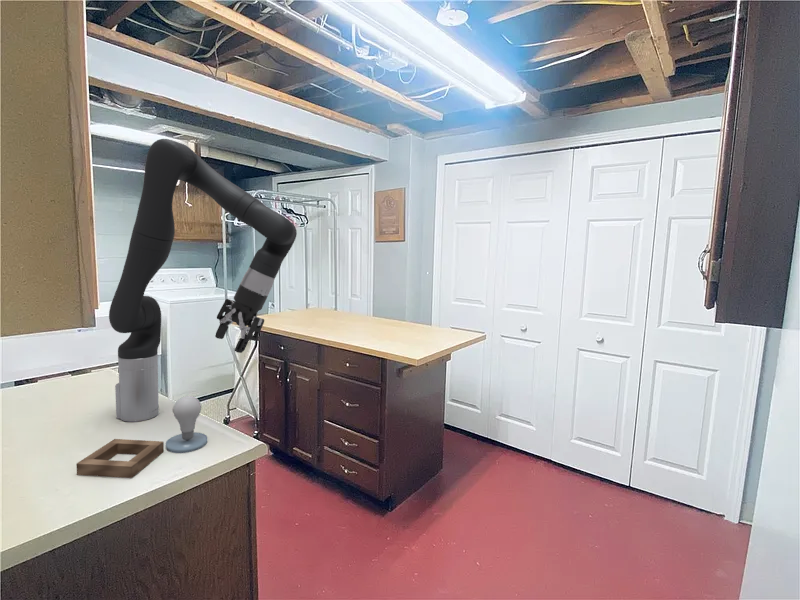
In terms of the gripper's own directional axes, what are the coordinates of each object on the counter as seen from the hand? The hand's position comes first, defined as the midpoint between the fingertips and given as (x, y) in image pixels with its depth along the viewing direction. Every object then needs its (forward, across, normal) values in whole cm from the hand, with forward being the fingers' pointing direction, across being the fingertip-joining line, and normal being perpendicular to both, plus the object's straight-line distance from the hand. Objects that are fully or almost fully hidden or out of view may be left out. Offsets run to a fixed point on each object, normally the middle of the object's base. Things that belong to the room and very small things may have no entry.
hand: (228, 345), depth 111 cm
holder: (+29, +5, -17) cm, 34 cm away
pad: (+24, +7, -5) cm, 25 cm away
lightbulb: (+23, +7, -5) cm, 25 cm away
